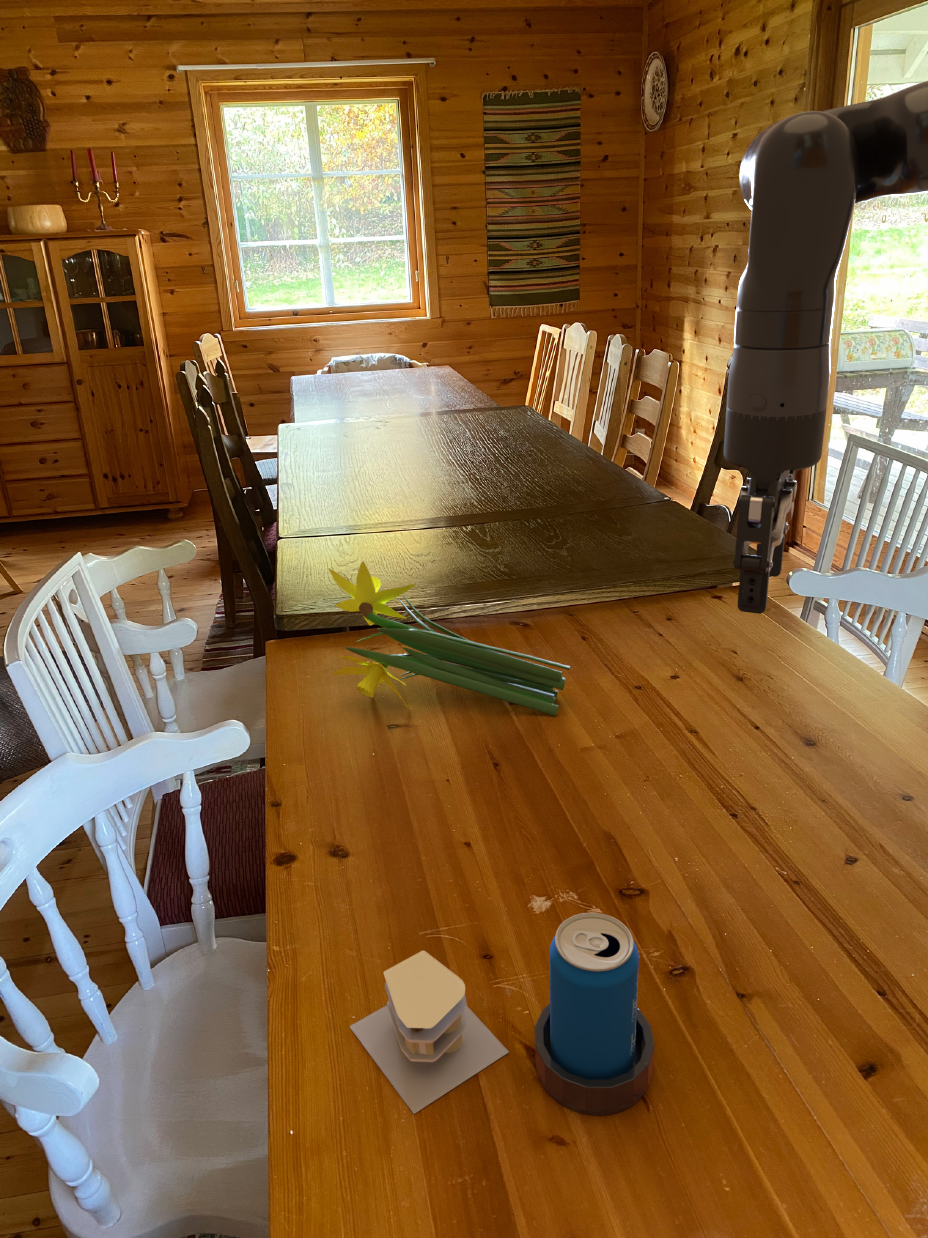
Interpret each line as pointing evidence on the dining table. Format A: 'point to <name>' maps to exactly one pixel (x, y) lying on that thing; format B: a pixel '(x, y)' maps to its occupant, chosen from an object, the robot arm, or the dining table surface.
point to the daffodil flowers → (443, 653)
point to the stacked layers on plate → (426, 1032)
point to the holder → (592, 1092)
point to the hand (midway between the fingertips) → (760, 591)
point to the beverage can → (593, 996)
